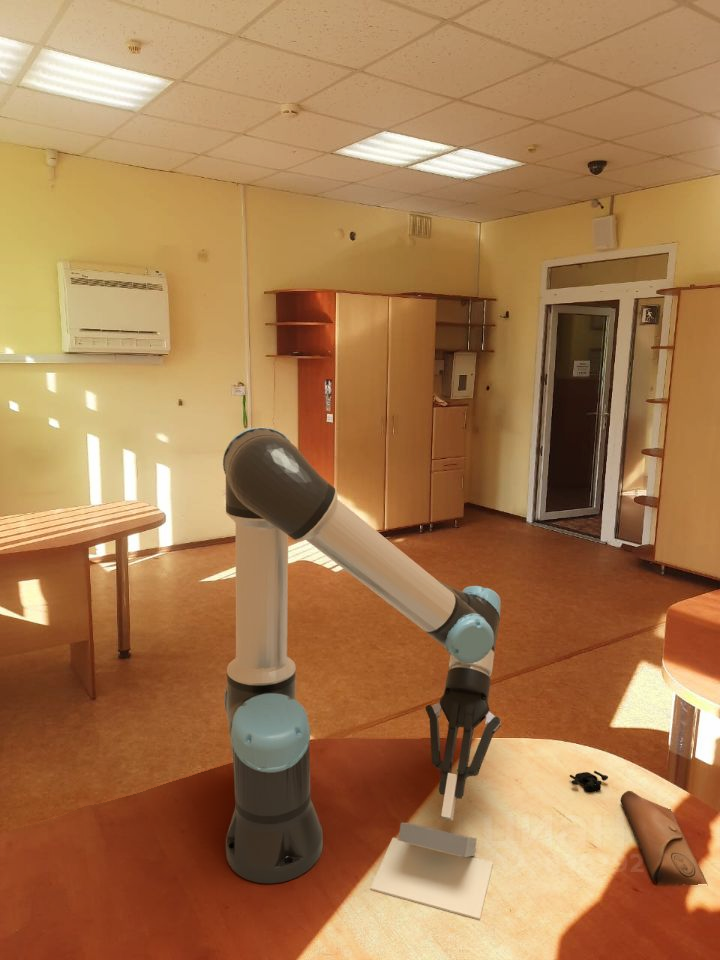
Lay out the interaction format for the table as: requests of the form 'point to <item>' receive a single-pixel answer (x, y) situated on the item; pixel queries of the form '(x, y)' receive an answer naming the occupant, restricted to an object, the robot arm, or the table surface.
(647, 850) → the sunglasses case
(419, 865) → the felt mat
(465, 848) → the slate tile
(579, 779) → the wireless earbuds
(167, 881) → the table surface
